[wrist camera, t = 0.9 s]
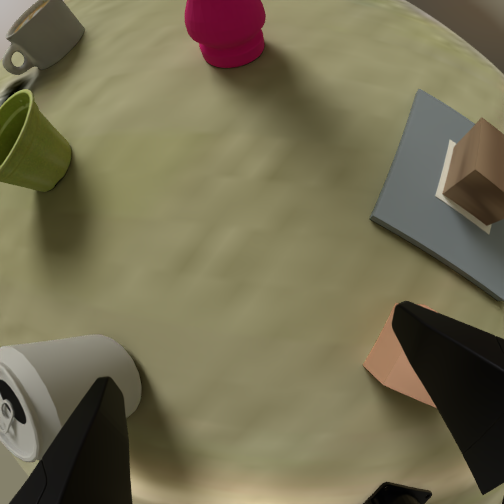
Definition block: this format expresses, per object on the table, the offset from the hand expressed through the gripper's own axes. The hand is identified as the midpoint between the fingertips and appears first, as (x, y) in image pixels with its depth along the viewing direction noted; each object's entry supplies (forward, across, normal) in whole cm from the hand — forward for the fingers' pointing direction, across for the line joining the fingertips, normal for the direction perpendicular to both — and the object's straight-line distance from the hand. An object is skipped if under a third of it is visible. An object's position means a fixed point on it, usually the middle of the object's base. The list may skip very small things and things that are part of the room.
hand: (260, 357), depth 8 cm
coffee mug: (+41, +21, -25) cm, 53 cm away
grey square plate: (+10, -20, 0) cm, 22 cm away
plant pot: (+25, +16, -6) cm, 30 cm away
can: (+11, +12, +11) cm, 19 cm away
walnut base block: (+9, -20, 0) cm, 22 cm away
